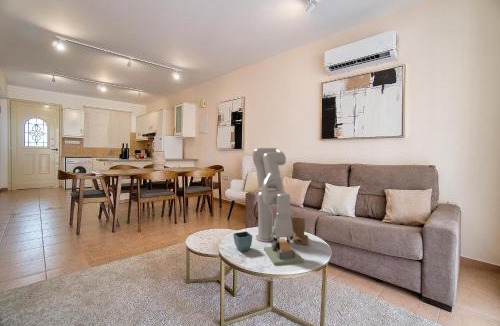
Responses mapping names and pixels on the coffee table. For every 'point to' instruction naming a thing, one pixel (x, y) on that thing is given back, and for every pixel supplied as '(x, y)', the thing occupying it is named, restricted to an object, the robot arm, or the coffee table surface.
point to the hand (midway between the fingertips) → (282, 248)
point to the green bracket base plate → (282, 256)
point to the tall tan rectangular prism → (284, 246)
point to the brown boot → (299, 230)
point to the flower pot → (242, 240)
